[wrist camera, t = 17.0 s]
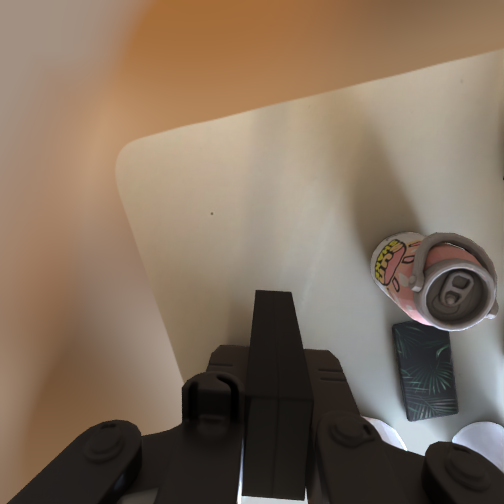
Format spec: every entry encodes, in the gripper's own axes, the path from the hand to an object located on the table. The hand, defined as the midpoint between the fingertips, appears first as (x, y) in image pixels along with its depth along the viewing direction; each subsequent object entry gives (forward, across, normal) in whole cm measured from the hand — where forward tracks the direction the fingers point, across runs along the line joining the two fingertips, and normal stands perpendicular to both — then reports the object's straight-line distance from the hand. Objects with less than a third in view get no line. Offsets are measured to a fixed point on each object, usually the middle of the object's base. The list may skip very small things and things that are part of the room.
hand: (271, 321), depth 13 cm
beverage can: (+27, +17, -3) cm, 32 cm away
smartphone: (+26, +22, -18) cm, 39 cm away
